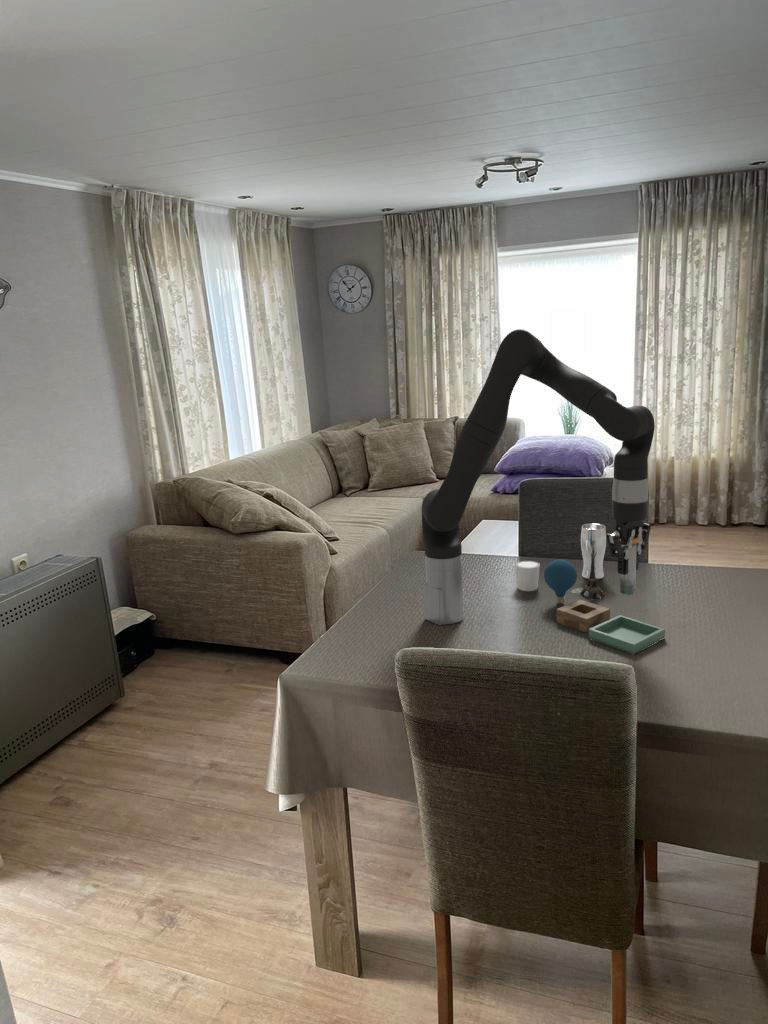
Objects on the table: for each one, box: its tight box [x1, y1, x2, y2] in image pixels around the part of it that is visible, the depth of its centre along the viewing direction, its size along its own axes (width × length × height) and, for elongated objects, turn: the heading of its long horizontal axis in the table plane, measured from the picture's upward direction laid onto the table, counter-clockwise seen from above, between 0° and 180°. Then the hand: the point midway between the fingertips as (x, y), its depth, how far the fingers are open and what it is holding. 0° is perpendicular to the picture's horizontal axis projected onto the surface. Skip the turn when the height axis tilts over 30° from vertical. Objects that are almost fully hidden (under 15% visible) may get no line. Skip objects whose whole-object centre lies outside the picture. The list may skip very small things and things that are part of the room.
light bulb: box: [543, 558, 578, 604], centre depth 190 cm, size 8×8×12 cm
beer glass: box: [580, 522, 607, 580], centre depth 208 cm, size 7×7×15 cm
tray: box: [588, 614, 666, 655], centre depth 167 cm, size 12×12×2 cm
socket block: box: [556, 599, 611, 633], centre depth 178 cm, size 9×9×4 cm
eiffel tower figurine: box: [564, 554, 607, 602], centre depth 194 cm, size 15×10×13 cm
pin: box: [619, 537, 639, 596], centre depth 163 cm, size 4×4×13 cm
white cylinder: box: [514, 560, 541, 592], centre depth 203 cm, size 7×7×7 cm
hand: (628, 571), depth 164 cm, fingers closed on pin, 3 cm apart
